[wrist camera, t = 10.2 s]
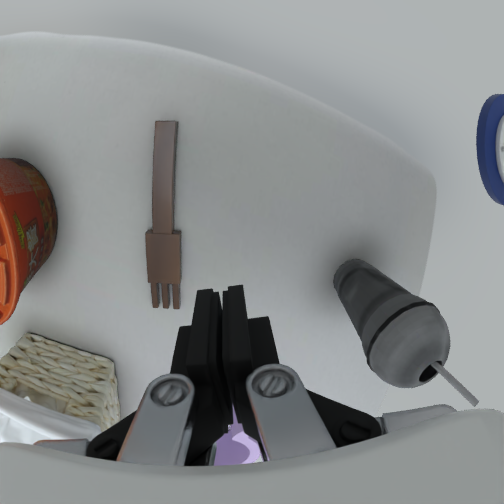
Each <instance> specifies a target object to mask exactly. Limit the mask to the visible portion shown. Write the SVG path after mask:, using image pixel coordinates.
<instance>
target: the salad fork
mask: <svg viewBox="0 0 504 504" xmlns="http://www.w3.org/2000/svg"><path fill="white" fill-rule="evenodd" d="M177 129H178V122H177V121H156V122H155V136H154V155H153V190H152V220H153V230H148V231H147V232H146V234H145V235H146V258H147V274H148V283H151V293H152V305H153V308H158V307H159V304H160V300H159V286H158V283H161V284H162V300H163V308H167V309H168V308H169V305H170V297H169V284H172V287H173V308H174V309H179V308H180V282H181V231H175V230H174V186H175V161H176V143H177Z"/></svg>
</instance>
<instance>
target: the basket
mask: <svg viewBox="0 0 504 504" xmlns="http://www.w3.org/2000/svg"><path fill="white" fill-rule="evenodd" d="M32 338H33V339H34V340H33V339H32ZM119 409H120V405H119V400H118V393H117V379H116V376H115V370H114V363H113V362H112V361H110V360H109V359H107V358H105V357H102V356H98V355H92V354H90V353H88V352H84V351H81V350H77V349H75V348H73V347H69V346H66V345H63V344H59V343H57V342H55V341H51V340H47V339H45V338H44V337H41V336H38V335H34V334H30V333H25V334H24V336H23V337H22V338H21V339H20V340H18V342H17V343H16V346H14V347H12V348H11V349H10V350H9V352H8V354H6V355H5V356H3V357H2V358H1V360H0V443H1V442H16V443H25V444H32V445H33V444H34V443H35V442H37V441H39V440H62V439H84V438H87V439H88V440H89V441H92V439H93V438H95V437H96V436H97V435H99V434H100V433H102V432H104V431H105V430H107V429H108V428H110V427H111V426H113V425H115V424H116V423H118V422H119V421H120V410H119Z"/></svg>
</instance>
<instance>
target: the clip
mask: <svg viewBox="0 0 504 504" xmlns="http://www.w3.org/2000/svg"><path fill="white" fill-rule="evenodd" d="M216 443H217V450H216V456H215V461H214V466H220V465H236V464H248V463H253V462H255V461H256V460H257V459H258V458H259V456H260V450H259V447H258V444H257V441H256V440H255V439H253V438H251V437H250V436H248V435H246V434H245V433H244V430H243V427H242V423H241V424H238V422H237V418H236V414H235V411H234V407H233V424H231V430H229V431H228V433H226V434H224V435H223V436H222V437H221V438H220V439H218V440H217V441H216Z"/></svg>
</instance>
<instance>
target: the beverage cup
mask: <svg viewBox="0 0 504 504" xmlns="http://www.w3.org/2000/svg"><path fill="white" fill-rule="evenodd" d="M334 287H335V289H336V291H337V293H338V296H339V298H340V300H341V302H342V304H343V306H344V308H345V310H346V311H347V313H348V315H349V317H350V319H351V321H352V323H353V325H354V327H355V329H356V331H357V333H358V335H359V337H360V339H361V341H362V346H363V350H364V353H365V356H366V357H367V364H368V365H369V367H370V369H371V370H372V371H373V372H375V373H376V374H377V375H378V376H379V377H380V378H381V379H382V380H383V381H385V382H387V383H389V384H391V385H393V386H396V387H399V388H414V387H418V386H421V385H423V384H425V383H427V382H429V381H430V380H432V379H433V378H434V377H435V376H436V375H437V374H438V373H440V374H441V375H442V376H443V377H444V378H445V379H446V380H447V381H448V382H449V383H450V384H451V385H452V386H453V387H454V388H455V389H457V390H458V391H459V392H460V393H461V394H462V395H463V396H464V397H465V398H466V399H467V400H468V401H469V402H470V403H471V404H472V405H473V406H476V405H477V404H478V402H479V401H478V400H477V399H476V398H475V397H474V396H473V395H472V394H471V393H470V392H469V391H468V390H467V389H466V388H465V387H464V386H463V385H462V384H461V383H460V382H458V381H457V380H456V379H455V378H454V377H453V376H452V375H451V374H450V373H449V372H448V371H447V370H445V368H443V366H444V364H445V362H446V360H447V358H448V354H449V349H450V336H449V330H448V327H447V324H446V322H445V320H444V318H443V317H442V316H441V314H440V312H439V310H438V309H437V308H436V306H435V305H434V304H433V303H429V302H427V301H426V300H424V299H422V298H420V297H418V296H415V295H413V294H411V293H410V292H408V291H407V290H406V289H404V288H403V287H401V286H400V285H399V284H397V283H396V282H394V281H393V280H392V279H390V278H389V277H387V276H386V275H384V274H383V273H381V272H380V271H379V270H377V269H376V268H374V267H373V266H371V265H369V264H367V263H365V262H364V261H362V260H359V259H352V260H350V261H347V262H345V263H344V264H343V265H341V266H340V268H339V269H338V270H337V272H336V274H335V276H334Z"/></svg>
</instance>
